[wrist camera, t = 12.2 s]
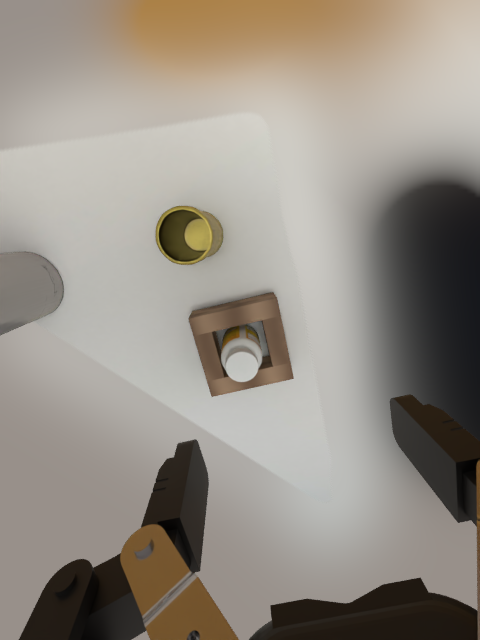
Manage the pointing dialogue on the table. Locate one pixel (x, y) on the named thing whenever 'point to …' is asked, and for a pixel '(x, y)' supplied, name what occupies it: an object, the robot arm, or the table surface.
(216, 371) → the socket block
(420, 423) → the robot arm
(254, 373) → the supplement bottle
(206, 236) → the vase
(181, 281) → the table surface
